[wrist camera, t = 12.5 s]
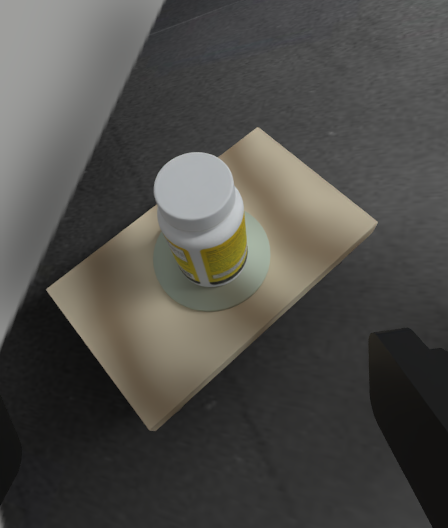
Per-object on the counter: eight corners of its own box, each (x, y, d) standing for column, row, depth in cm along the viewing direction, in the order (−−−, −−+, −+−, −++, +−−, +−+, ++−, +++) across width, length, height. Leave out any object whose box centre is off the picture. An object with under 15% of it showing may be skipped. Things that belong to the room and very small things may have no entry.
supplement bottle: (252, 229, 28) (250, 150, 20) (241, 293, 26) (233, 232, 19) (185, 221, 29) (158, 141, 21) (170, 283, 27) (134, 220, 19)
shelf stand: (258, 172, 38) (257, 123, 32) (358, 258, 33) (379, 219, 28) (80, 314, 33) (42, 287, 28) (170, 432, 29) (147, 430, 23)
